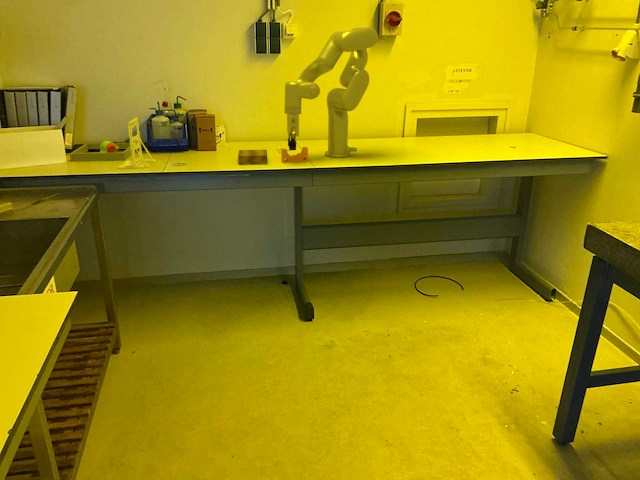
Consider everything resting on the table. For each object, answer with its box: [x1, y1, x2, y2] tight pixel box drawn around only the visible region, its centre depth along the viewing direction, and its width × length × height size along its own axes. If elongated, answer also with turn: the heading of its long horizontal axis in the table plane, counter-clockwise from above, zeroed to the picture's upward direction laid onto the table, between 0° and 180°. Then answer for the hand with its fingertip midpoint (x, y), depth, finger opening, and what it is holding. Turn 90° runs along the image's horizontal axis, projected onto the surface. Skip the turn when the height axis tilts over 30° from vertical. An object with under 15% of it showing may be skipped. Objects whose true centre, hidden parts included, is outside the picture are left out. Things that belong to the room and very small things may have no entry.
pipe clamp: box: [280, 146, 309, 164], centre depth 239 cm, size 12×4×6 cm, turn 107°
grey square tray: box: [69, 142, 132, 162], centre depth 248 cm, size 24×24×4 cm
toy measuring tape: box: [98, 140, 119, 153], centre depth 246 cm, size 6×20×7 cm, turn 151°
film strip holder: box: [117, 117, 156, 169], centre depth 228 cm, size 14×14×20 cm
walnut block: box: [237, 149, 268, 166], centre depth 239 cm, size 13×13×4 cm
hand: (291, 148), depth 239 cm, fingers open, 9 cm apart
